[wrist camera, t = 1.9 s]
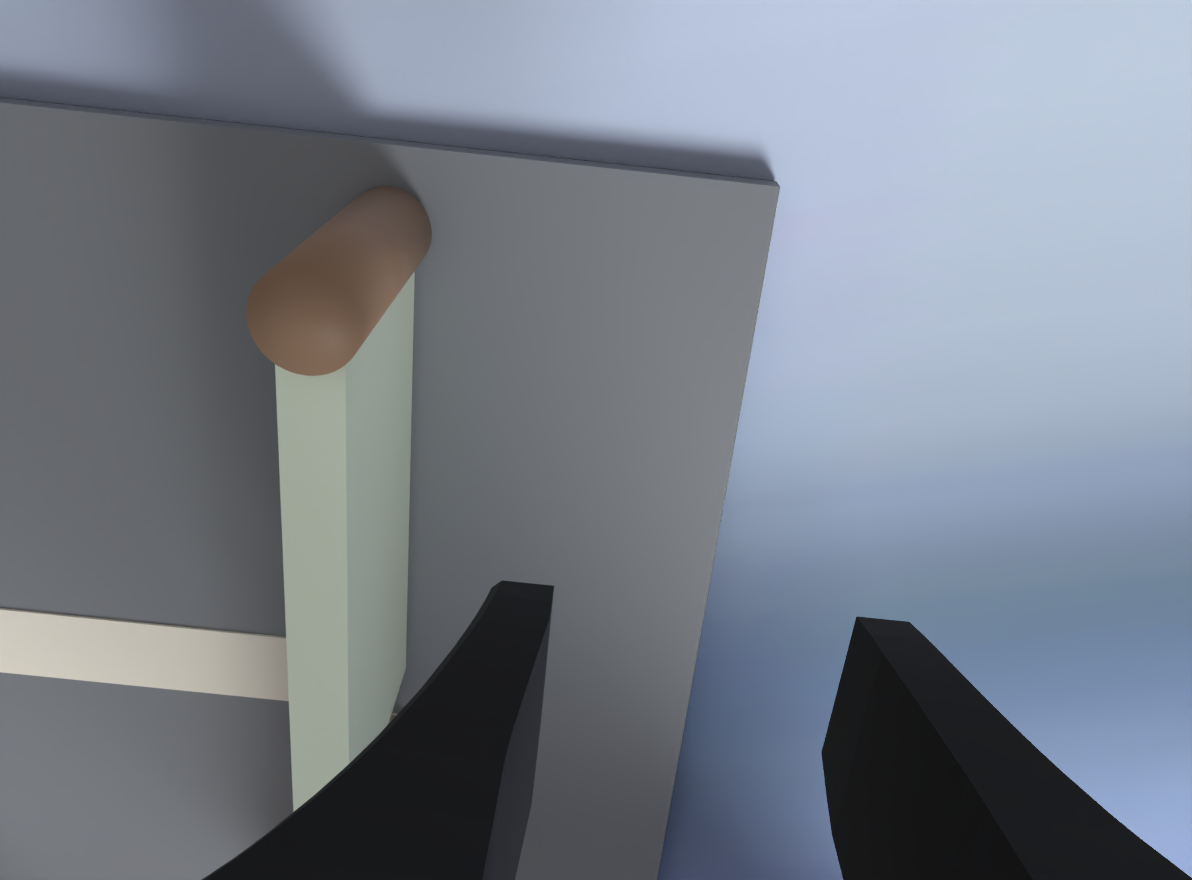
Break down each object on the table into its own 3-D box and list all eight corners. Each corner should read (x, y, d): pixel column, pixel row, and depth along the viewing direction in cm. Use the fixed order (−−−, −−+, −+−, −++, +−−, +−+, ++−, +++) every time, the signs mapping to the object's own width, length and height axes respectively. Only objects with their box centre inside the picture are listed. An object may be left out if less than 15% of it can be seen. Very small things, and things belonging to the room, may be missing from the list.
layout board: (776, 181, 18) (780, 187, 18) (636, 977, 28) (636, 996, 27) (-262, 69, 18) (-287, 72, 18) (-48, 911, 28) (-61, 929, 27)
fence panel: (417, 701, 23) (363, 889, 18) (348, 694, 23) (276, 881, 18) (432, 191, 18) (363, 270, 13) (344, 181, 18) (243, 257, 13)
